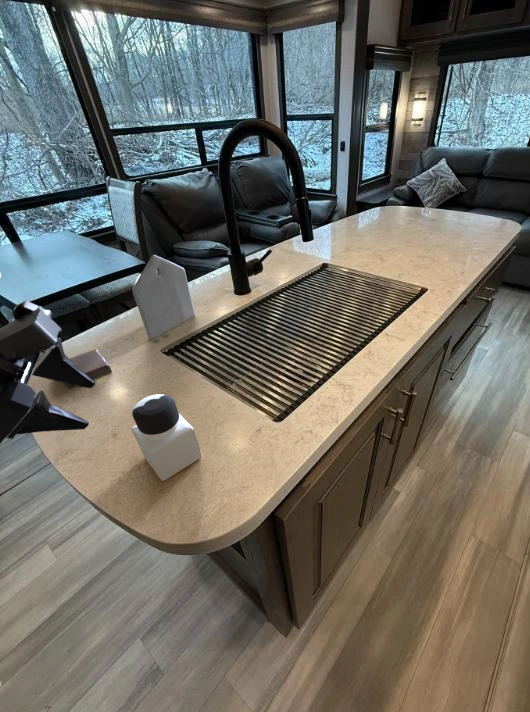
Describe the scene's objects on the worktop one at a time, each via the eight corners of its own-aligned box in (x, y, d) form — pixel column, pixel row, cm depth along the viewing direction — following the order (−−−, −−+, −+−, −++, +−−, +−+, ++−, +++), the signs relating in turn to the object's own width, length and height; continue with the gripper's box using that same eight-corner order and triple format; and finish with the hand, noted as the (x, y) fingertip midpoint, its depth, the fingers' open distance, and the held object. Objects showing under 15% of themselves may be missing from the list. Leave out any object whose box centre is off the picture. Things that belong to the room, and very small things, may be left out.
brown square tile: (68, 388, 70) (64, 381, 69) (58, 370, 76) (54, 363, 75) (112, 371, 75) (108, 364, 74) (99, 355, 80) (96, 348, 79)
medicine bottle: (202, 457, 56) (186, 404, 48) (162, 482, 52) (138, 429, 44) (182, 434, 60) (164, 382, 52) (143, 456, 56) (118, 403, 48)
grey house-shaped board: (176, 309, 100) (158, 242, 88) (195, 315, 96) (180, 246, 84) (130, 333, 89) (102, 259, 77) (150, 340, 86) (124, 265, 73)
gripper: (-46, 333, 29) (124, 408, 39) (13, 265, 42) (127, 334, 53) (-111, 417, 31) (67, 468, 41) (-35, 326, 44) (84, 381, 54)
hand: (90, 404), depth 47 cm, fingers open, 9 cm apart
